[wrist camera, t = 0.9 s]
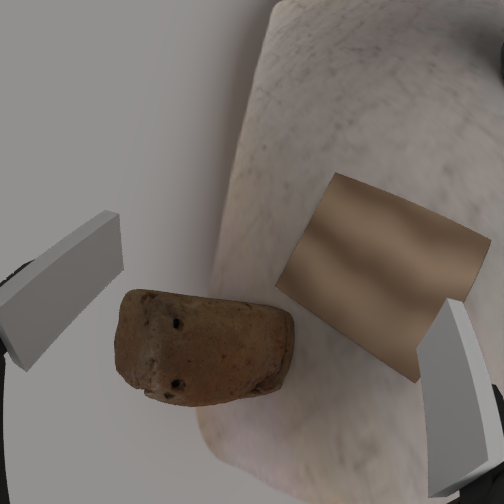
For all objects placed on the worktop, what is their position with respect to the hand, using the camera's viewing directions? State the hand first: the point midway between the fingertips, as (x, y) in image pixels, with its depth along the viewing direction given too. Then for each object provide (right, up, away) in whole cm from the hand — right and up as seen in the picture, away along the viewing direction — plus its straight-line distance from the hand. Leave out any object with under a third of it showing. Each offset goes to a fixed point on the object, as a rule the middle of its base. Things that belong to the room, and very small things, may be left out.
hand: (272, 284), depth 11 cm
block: (+2, -11, +27) cm, 29 cm away
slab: (+14, -1, +20) cm, 24 cm away
